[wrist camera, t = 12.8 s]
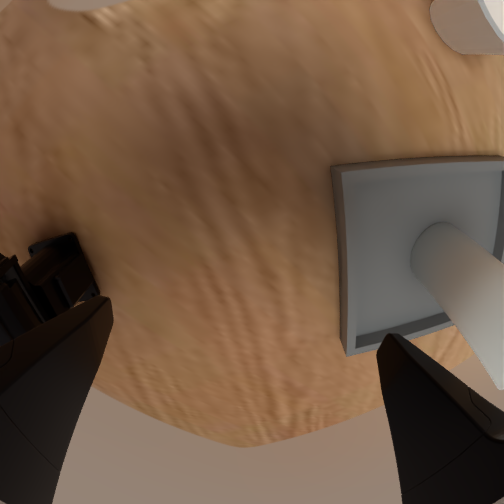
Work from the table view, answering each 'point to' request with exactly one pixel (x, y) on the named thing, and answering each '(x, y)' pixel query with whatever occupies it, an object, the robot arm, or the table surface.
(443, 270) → the candle
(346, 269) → the tray
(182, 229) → the table surface
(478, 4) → the shot glass
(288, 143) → the table surface
